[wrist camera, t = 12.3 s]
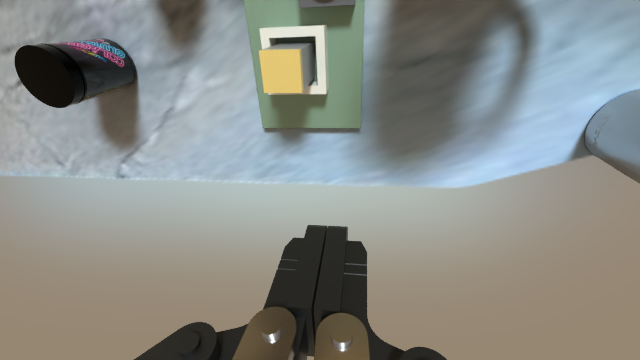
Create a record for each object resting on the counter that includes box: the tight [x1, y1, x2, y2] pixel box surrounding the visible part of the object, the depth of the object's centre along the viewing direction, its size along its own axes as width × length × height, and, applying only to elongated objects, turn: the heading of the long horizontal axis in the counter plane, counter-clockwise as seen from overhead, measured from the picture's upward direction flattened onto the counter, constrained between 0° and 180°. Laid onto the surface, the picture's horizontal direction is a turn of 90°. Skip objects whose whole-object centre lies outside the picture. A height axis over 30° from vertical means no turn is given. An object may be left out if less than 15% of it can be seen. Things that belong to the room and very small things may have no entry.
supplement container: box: [15, 39, 135, 108], centre depth 36 cm, size 7×7×10 cm
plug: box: [259, 42, 315, 93], centre depth 32 cm, size 4×4×9 cm
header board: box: [244, 0, 364, 128], centre depth 34 cm, size 14×22×5 cm, turn 3°
